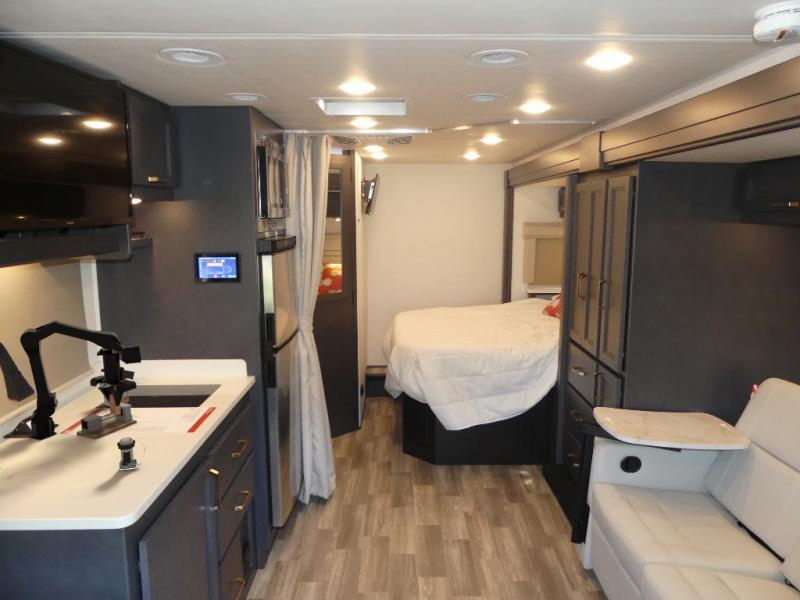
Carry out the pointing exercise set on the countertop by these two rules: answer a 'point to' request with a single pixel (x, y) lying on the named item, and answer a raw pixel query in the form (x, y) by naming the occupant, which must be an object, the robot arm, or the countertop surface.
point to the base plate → (109, 428)
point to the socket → (125, 413)
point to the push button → (127, 453)
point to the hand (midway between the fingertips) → (114, 405)
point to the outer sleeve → (91, 424)
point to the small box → (123, 400)
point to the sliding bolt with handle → (112, 410)
